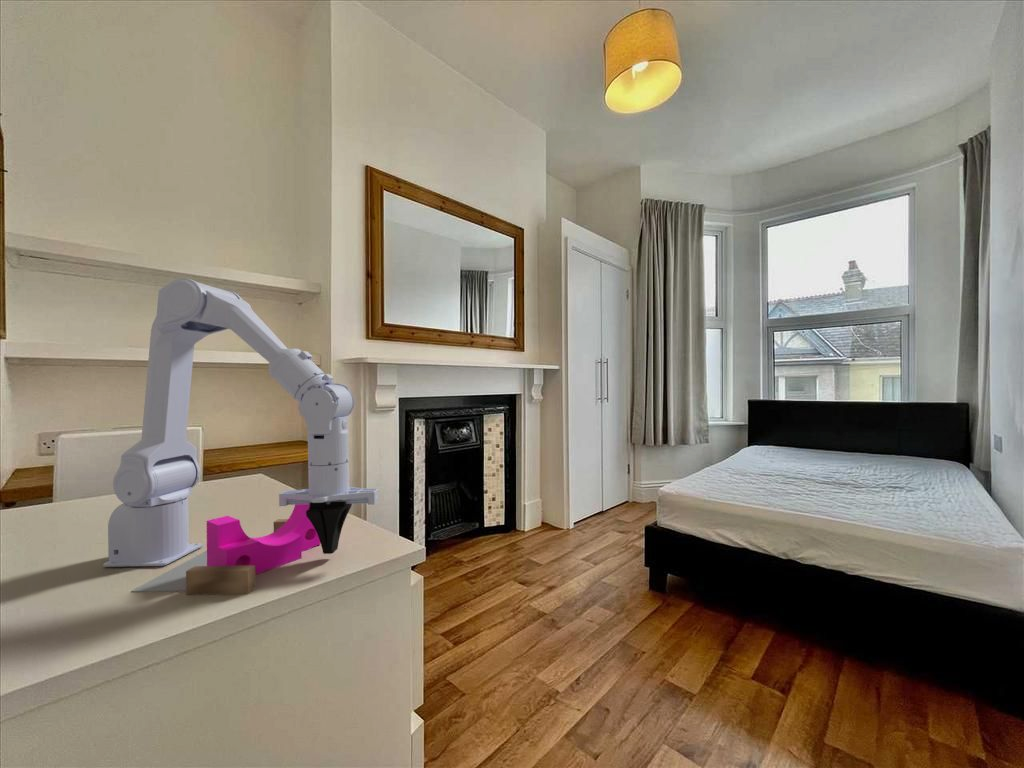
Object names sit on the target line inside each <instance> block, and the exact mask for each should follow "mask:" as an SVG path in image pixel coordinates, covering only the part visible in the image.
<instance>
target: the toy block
mask: <svg viewBox="0 0 1024 768" xmlns="http://www.w3.org/2000/svg"><path fill="white" fill-rule="evenodd" d="M309 507H310V504H305V505H294V508H293V510H292V513H291V514H290V516H289V518H287V519H288V520H287V521H286V523H285V524H284V525H283V526H282V527H280V528H279V529H278V530H277V531H275V532H274V531H273V532H271V533H270V534H267V535H264V536H259V537H249V535H247V533H245V531H244V529H243V528H242V525H241V521H240V519H238V518H235V517H233V516H229V515H226V516H225V515H224V516H221V517H217V518H211V519H207V520H206V551H207V566H243V565H255V575H257V574H261V573H263V572H266V571H268V570H272V569H274V568H277V567H279V566H282V565H286V564H288V563H291V562H294V561H297V560H300V559H302V557H303V556H302V554H303V553H302V552H304V551H306V550H309V548H310V549H313V548H315V547H314V546H316V547H318V546H317V545H319V546H321V543H320V540H319V537H318V534H317V532H316V530H315V528H314V526H313V525H312V523H311V521H310V520H309V519H308V517H307V516H306V511H307V510H308V509H309ZM312 547H313V548H312ZM303 550H304V551H303ZM299 558H300V559H299ZM296 559H297V560H296Z"/></svg>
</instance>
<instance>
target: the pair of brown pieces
mask: <svg viewBox="0 0 1024 768" xmlns="http://www.w3.org/2000/svg"><path fill="white" fill-rule="evenodd" d="M288 519H289V518H282V519H281V518H278V519H276V520H274V521H273V532H275V531H277V530H278V529H279V528H280V527H282V526H283V525H284V524H285V523H286V521H287V520H288ZM255 589H256V574H255V565H243V566H194V567H193V568H191V569H189V570H187V571H186V591H185V592H186V593H185V594H186V595H189V596H190V595H193V596H194V595H241V594H242V595H244V594H245V595H247V594H250V593H251V592H253V590H255Z"/></svg>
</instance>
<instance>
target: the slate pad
mask: <svg viewBox="0 0 1024 768" xmlns="http://www.w3.org/2000/svg"><path fill="white" fill-rule="evenodd" d="M194 566H207V550H205V551H203V552H202V553H200V554H197V555H195V556H194V557H192V558H190V559H188V560H186V561H185V562H182V563H181V564H179V565H177V566H176V567H174V568H172V569H169V570H168V571H165V572H164V573H162V574H160V575H159V576H157V577H155V578H153V579H151V580H149V581H146V582H145V583H144V584H142V585H140V586H137V587H136V588H134V589H132V590H131V592H130V593H157V592H158V593H159V592H160V593H163V592H166V593H167V592H169V593H170V592H171V593H172V592H177V593H178V592H186V571H187V570H189V569H191V568H193V567H194Z"/></svg>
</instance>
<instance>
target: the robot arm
mask: <svg viewBox="0 0 1024 768" xmlns="http://www.w3.org/2000/svg"><path fill="white" fill-rule="evenodd" d="M251 306H252V305H251V304H250V303H249V302H247V301H245V300H244V299H243V298H242V297H241V296H240V295H239V294H238V293H236V292H235V291H231V290H225V289H222V288H218V287H214V286H211V285H208V284H205V283H201V282H198V281H196V280H195V279H194V280H193V279H191V278H188V277H179V278H176V279H174V280H172V281H170V282H169V283H168V284H166V285H164V286H163V287H161V288H160V289H158V296H157V308H156V316H155V317H154V320H153V322H152V325H151V329H150V337H149V338H150V340H149V349H148V350H149V351H148V362H147V372H146V373H147V374H146V385H145V394H144V395H145V396H144V405H143V418H142V428H141V438H140V439H139V440H138V441H137V442H136V443H135V444H134V445H132V446H131V447H130V448H128V449H127V450H126V451H124V452H123V453H122V454H121V458H120V465H119V467H118V469H117V471H116V472H115V474H114V477H113V479H112V480H113V481H112V487H113V488H112V489H113V491H114V495H115V496H116V498H117V499H118V500H119V501H120V502H121V504H119V505H118V506H116V507H115V509H114V510H113V511H112V512H111V514H110V516H109V518H108V523H107V542H108V544H107V547H108V549H107V550H108V551H107V552H108V554H107V555H108V561H106V562H104V563H103V565H102V567H104V568H107V567H110V568H112V567H113V568H114V567H116V568H117V567H163V566H166V565H167V566H168V564H171V563H173V562H175V561H177V560H178V559H181V558H183V557H184V556H186V555H188V554H190V553H192V552H194V551H196V550H198V549H200V548H202V547H203V546H204V544H203V542H200V543H199V542H196V543H194V542H193V543H190V533H189V532H190V531H189V529H190V526H189V525H190V523H189V521H190V519H189V518H190V517H189V496H190V495H192V494H193V493H192V492H193V490H192V489H193V488H195V486H196V485H198V482H199V480H200V477H201V468H200V465H199V463H198V457H197V455H198V454H197V453H198V448H197V447H196V446H195V445H193V444H192V443H191V442H190V441H189V440H187V432H188V418H189V409H190V398H191V397H190V396H191V385H192V375H193V365H194V364H193V363H194V351H195V345H196V344H197V343H198V342H200V341H201V340H203V339H204V338H206V337H207V336H210V335H213V334H216V333H219V332H223V331H226V330H231V331H232V332H234V334H236V335H237V337H239V338H240V339H242V340H243V341H244V342H245V343H246V344H247V345H248V346H250V347H251V348H252V349H253V350H254V351H255V352H256V353H258V355H260V356H261V357H262V358H264V359H265V360H266V362H268V374H269V375H270V377H272V378H273V380H275V382H277V383H278V384H279V385H280V386H281V387H282V388H283V389H284V390H285V391H286V392H288V394H289V395H290V396H291V397H292V398H293V399H295V400H296V402H297V403H298V404H297V406H298V407H297V408H298V411H299V414H300V415H301V417H302V419H304V421H305V424H306V431H307V462H308V464H307V466H308V467H307V470H308V471H307V472H308V473H307V474H308V488H303V489H294V490H293V489H292V490H289V489H287V490H284V491H282V492H280V493H279V494H278V505H279V507H287V506H289V505H290V506H292V505H293V506H295V505H305V504H310V507H309V509H308V510H307V511H306V516H307V517H308V519H309V520H310V521H311V523H312V525H313V526H314V528H315V530H316V532H317V534H318V537H319V540H320V547H321V548H322V554H323V555H325V554H327V555H330V554H333V553H335V552H336V551H337V550H338V548H339V542H340V537H341V533H342V530H343V526H344V524H345V521H346V519H347V517H348V514H349V513H350V510H351V508H352V505H354V504H355V505H357V504H361V505H362V504H367V505H369V506H370V505H371V506H372V505H377V503H378V502H379V501H380V500H379V499H380V498H379V497H380V496H379V493H380V492H379V488H363V487H354V486H353V487H352V486H350V469H349V468H350V453H349V451H350V449H349V448H350V447H349V446H350V445H349V441H350V440H349V415H351V413H352V411H353V409H354V406H355V398H354V395H353V393H352V392H351V390H350V389H349V387H348V386H347V385H345V384H343V383H338V382H336V383H335V382H334V381H333V380H334V376H332V375H331V373H325V372H324V371H323V370H322V369H321V368H320V367H319V366H317V365H316V364H315V362H313V361H312V359H313V355H312V354H311V353H310V352H309V351H305V350H301V349H299V348H288V347H287V346H286V345H285V344H284V342H283V341H281V340H280V339H279V337H278V336H277V335H276V334H275V333H274V332H273V331H272V330H271V329H270V327H268V326H267V324H266V323H265V322H264V321H263V320H262V319H261V318H260V317H259V316H258V315H257V313H256V312H255V311H253V309H252V307H251Z"/></svg>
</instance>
